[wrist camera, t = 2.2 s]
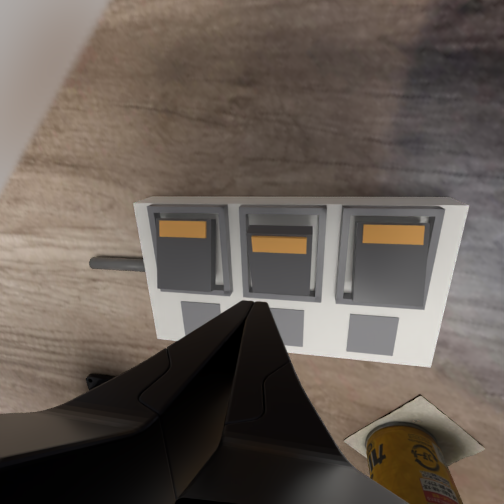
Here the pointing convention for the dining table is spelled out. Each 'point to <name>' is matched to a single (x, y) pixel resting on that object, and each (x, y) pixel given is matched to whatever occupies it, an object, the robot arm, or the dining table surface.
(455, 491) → the condiment
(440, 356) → the dining table surface
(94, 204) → the dining table surface
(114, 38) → the dining table surface
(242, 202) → the power strip
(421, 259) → the rocker
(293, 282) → the rocker middle
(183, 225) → the rocker
